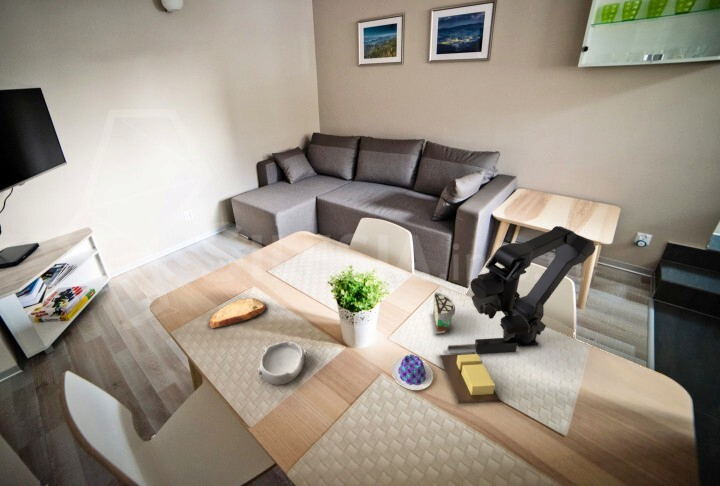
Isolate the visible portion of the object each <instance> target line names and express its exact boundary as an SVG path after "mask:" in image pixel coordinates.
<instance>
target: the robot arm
mask: <svg viewBox="0 0 720 486" xmlns="http://www.w3.org/2000/svg"><path fill="white" fill-rule="evenodd" d="M552 251H554V258H553V260H551V262H550V263H549V265H548V266H547V267H546V269H545V270H544V272H543V273H542V274H541V276H539V279H538V280H537V281H536V282H535V284H534V285H533V286H532V288H531V289H530V291H529V292H528V294H527V295H524V296H522V297H520V296H521V295H520V294H519V292H518V287H519V283H520V277H521V276H522V275H524V274H527V271H526V269H528V268H529V267H530V266H531V264H532V261H533V260H535V259H537V258H539V257H542V256H544V255H545V254H548V253H550V252H552ZM595 252H596V246H595V242H594V240H591V239H589V238H587V237H585V236H583V235H580V234H577V233H576V232H575V231H573V230H571V229H570V228H569V229H568V228H567V227H563V226H561V225H556V226H554V227H553V228H552V229H551V230H549V231H547V232H544V233H542V234H540V235H537V236H535V237H533V238H531V239H529V240H526V241H525V242H519V243H518V242H511V243H506V244H504V245H502V246H500V247H498V248H497V249H496V250H495V252H494V253H493V255H492V256H491V257H490V259H489V260H488V262H487V263H486V264H485V269H487V270H488V272H485V273H480V274H478V275H477V277H475V278H473V279H471V281H470V289H471V292H472V293H473V295H472V296H471V300H472V303H473V306H474V308H475V309H476V311H477V313H478V314H481V315H483V314H484V315H485V316H488V319H492V320H493V319H494V317H495V316H496V314H497V312H502V314H503V315H504V316H502V317H501V318H500V321H499V322H500V323H499V326H500V327H501V329H502V330H503V335H502V336H503V337H502V338H503V339H504V340H509V339H510V338H511V337H514V338H515V340H516V341H517V342H518V345H517V347H519V348H522V347H538V346H539V343H538V341H537V337H538V336H540V335H541V334H542V332H544V331H545V329H546V327H547V325H546V324H545V323H544V322H543V321H542V319H543V318H544V315H545V312H544V310H545V309H544V308H545V307H544V305H545V304H546V302H547V301H548V300H549V299H550V297H551V296H552V294H554V291H555V290H556V289H557V288H558V287H559V285H560V284H561V283H562V281H563V280H564V278H565V277H566V276H567V275H568V273H569V272H570V270H571V269H572V268H573V267H575V266H577V265H579V264H582V263H584V262H586V261H587V260H588V258H589V257H591V256H592V255H593V254H594V253H595ZM497 264H499V265H500V266H501V267H500V266H499V265H497Z"/></svg>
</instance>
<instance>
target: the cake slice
mask: <svg viewBox="0 0 720 486" xmlns="http://www.w3.org/2000/svg"><path fill="white" fill-rule="evenodd" d="M433 294H434V295H433V297H434V298H433V311H432V318H433V324H434V331H435V335H437V336H441V335H444V334H447V333H448V332H449V331H450V328H451V323H452V318H453V317H454V315H455V314H456V305H455V303H454V301H453V299H451V297H449V296H448V295H446V294H443V293H441V292H434V293H433Z"/></svg>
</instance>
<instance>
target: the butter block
mask: <svg viewBox="0 0 720 486" xmlns="http://www.w3.org/2000/svg"><path fill="white" fill-rule="evenodd" d="M461 374H462V376H463V378H464V380H465V383H466V385H467V387H468V389H469V391H470V393H471V395H483V394H493V392H494V389H495V388H496V384H495V383H494V381H493V379H492V377H491V375H490V374H489V371H488V370H487V368H486V366H485V364H484V363H481V364H477V365H463V366H462V373H461Z"/></svg>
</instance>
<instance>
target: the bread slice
mask: <svg viewBox="0 0 720 486" xmlns="http://www.w3.org/2000/svg"><path fill="white" fill-rule="evenodd" d="M266 309H267V305H266V304H265V303H263V302H262V301H261V300H259V299H257V298H254V297H248V298H241V299H239V300H235V301H233V302H231V303H229V304H228V305H226V306H223V307H222V308H220V309H218V310H217V311H216V312H215V313H213V314H212V316H211V318H210V319H209V327H210V328H211V329H216V328H223V327H227V326H231V325H234V324H238V323H240V322H245V321H246V320H247V321H248V320H250V319H252V318H254V317H256V316H259V315H260V314H262V313H264V312H265V310H266Z"/></svg>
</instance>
